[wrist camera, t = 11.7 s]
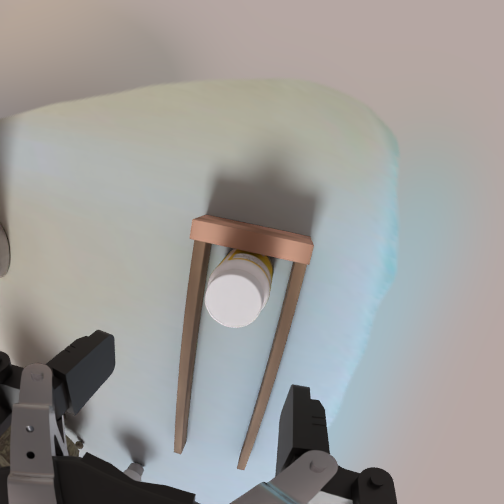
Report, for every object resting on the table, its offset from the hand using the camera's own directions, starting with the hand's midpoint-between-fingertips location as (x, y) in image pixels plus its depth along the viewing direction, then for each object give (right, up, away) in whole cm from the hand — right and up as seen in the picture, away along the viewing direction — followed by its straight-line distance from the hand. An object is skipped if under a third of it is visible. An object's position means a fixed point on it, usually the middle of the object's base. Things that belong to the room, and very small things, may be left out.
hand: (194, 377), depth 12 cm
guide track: (0, -8, +19) cm, 21 cm away
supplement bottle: (+2, +4, +17) cm, 17 cm away
